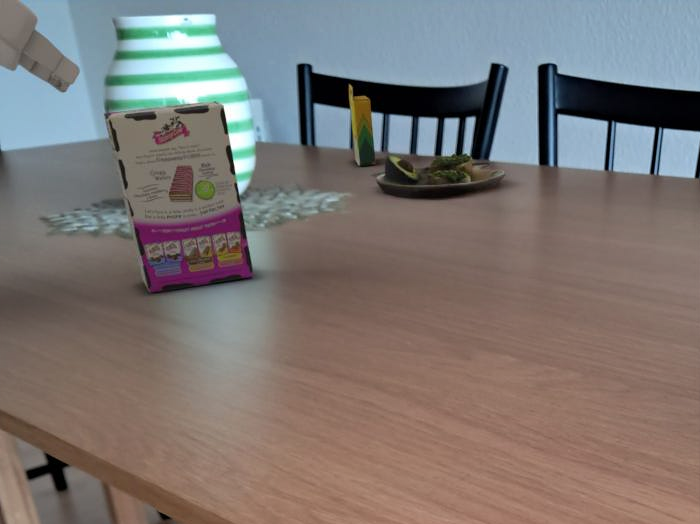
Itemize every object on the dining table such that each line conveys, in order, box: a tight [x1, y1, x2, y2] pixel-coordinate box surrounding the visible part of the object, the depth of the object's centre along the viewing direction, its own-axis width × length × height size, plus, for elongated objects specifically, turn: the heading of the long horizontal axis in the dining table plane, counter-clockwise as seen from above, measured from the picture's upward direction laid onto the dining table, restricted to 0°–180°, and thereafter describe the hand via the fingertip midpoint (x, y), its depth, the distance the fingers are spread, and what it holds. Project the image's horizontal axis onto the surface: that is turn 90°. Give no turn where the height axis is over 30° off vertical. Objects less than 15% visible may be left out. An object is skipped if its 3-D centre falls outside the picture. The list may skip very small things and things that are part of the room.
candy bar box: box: [103, 100, 254, 293], centre depth 102 cm, size 11×5×16 cm, turn 114°
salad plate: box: [369, 152, 506, 200], centre depth 147 cm, size 19×18×5 cm
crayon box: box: [348, 83, 376, 167], centre depth 167 cm, size 7×3×12 cm, turn 11°
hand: (72, 82), depth 98 cm, fingers open, 8 cm apart
